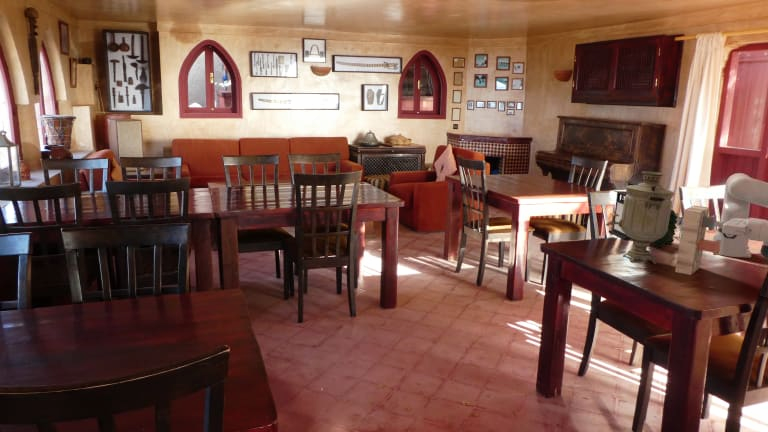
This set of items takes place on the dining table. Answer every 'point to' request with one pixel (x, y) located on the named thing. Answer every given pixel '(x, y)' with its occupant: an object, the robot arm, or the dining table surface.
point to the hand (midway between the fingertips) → (714, 223)
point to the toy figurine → (668, 236)
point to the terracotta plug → (709, 246)
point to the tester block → (691, 240)
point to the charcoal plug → (708, 222)
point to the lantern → (620, 213)
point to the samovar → (645, 214)
